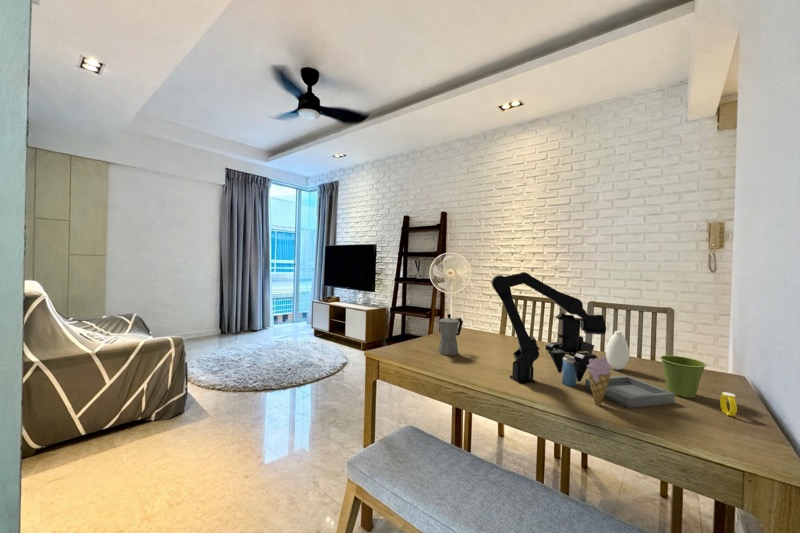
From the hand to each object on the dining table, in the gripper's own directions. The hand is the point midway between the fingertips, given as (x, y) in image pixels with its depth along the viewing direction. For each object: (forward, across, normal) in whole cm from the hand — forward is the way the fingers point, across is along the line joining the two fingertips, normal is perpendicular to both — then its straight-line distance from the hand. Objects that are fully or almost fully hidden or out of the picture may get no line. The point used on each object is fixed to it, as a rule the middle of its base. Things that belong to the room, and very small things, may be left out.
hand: (569, 376), depth 116 cm
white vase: (+3, +10, -32) cm, 34 cm away
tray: (+3, -12, -12) cm, 17 cm away
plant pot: (+3, -15, -31) cm, 35 cm away
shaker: (+3, 0, 0) cm, 3 cm away
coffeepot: (+3, +45, +26) cm, 52 cm away
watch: (+3, -29, -29) cm, 41 cm away
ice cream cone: (+3, -16, +4) cm, 17 cm away
